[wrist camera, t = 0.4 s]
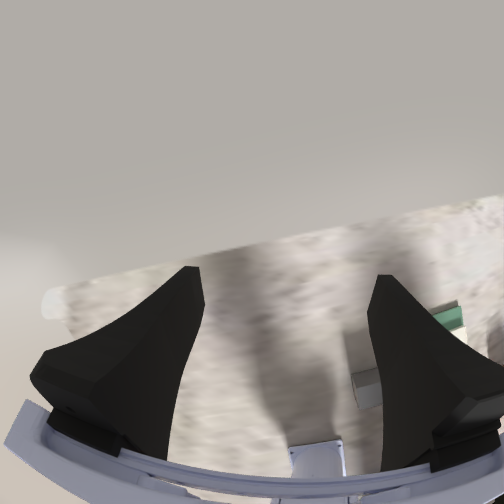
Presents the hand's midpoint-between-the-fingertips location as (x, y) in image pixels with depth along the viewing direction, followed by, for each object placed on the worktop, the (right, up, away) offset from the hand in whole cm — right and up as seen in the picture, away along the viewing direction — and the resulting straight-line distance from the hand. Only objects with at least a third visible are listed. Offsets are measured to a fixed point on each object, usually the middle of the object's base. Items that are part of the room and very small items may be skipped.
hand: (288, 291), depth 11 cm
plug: (+14, -16, +22) cm, 31 cm away
